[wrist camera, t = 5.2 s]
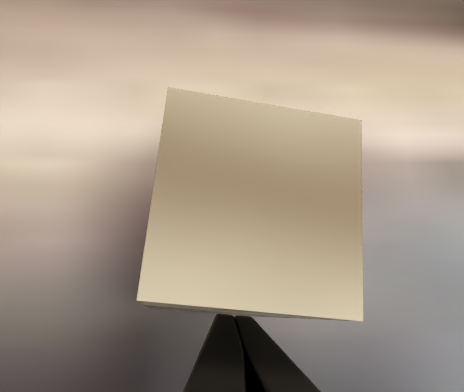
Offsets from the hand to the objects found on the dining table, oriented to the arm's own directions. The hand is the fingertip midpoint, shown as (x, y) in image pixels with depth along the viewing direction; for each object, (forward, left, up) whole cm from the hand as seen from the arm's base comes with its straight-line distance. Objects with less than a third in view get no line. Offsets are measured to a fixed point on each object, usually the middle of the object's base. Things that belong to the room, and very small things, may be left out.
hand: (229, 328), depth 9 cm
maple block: (+1, +2, -7) cm, 8 cm away
